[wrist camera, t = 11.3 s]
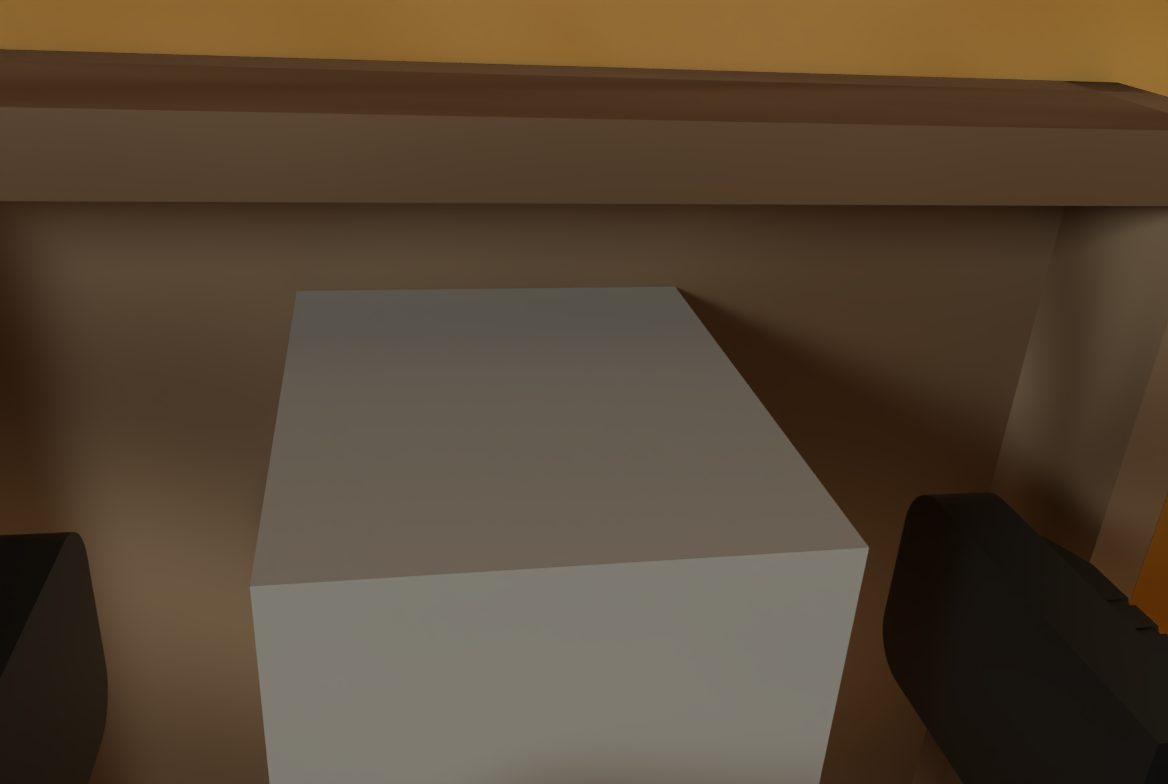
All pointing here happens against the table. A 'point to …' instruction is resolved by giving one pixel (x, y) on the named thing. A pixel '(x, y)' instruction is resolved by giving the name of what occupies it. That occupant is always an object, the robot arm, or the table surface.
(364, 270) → the tray
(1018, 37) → the table surface
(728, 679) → the grey rectangular block
